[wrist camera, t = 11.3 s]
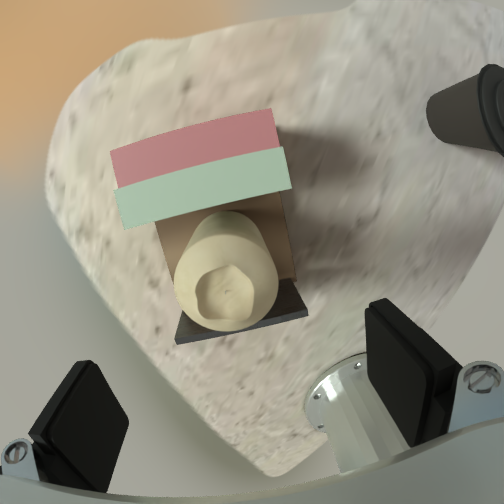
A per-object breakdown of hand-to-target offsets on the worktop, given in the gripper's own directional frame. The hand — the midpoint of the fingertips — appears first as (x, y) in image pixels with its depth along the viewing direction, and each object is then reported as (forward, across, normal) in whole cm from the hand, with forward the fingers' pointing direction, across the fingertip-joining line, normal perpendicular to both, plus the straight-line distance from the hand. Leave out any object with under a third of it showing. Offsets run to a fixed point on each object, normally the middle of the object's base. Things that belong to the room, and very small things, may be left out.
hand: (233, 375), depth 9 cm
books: (+15, 0, -7) cm, 17 cm away
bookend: (+16, 0, +3) cm, 16 cm away
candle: (+16, 0, -1) cm, 16 cm away
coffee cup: (+17, -24, -8) cm, 30 cm away
